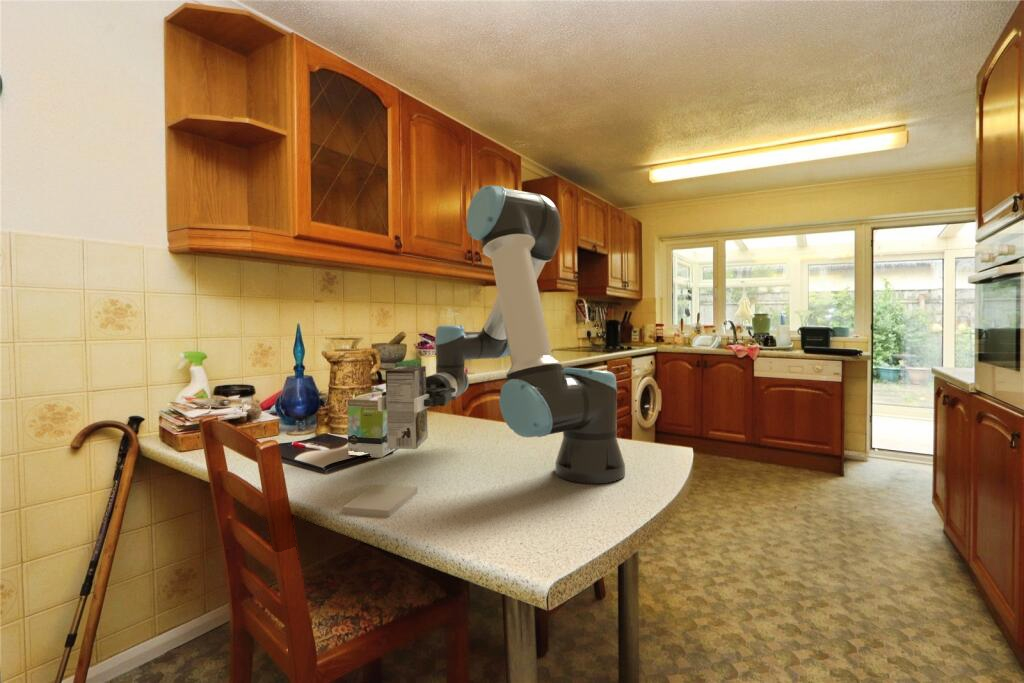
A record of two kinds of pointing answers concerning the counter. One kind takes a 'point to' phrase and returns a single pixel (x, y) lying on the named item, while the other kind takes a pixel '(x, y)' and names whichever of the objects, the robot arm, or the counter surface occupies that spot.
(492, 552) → the counter surface
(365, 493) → the grey flat piece
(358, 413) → the tea box
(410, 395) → the coffee box
